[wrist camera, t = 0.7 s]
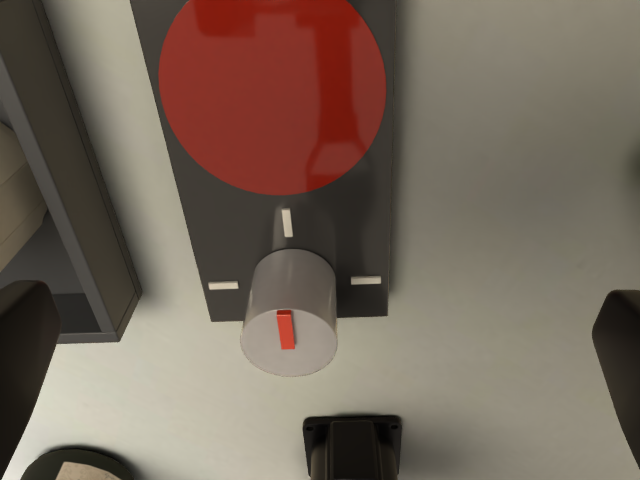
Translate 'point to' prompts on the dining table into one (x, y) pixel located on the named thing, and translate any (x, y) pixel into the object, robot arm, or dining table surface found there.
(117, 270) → the sink
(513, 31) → the dining table surface
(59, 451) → the wine bottle
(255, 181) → the burner
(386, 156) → the hob
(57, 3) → the dining table surface
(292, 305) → the knob
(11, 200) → the pot
